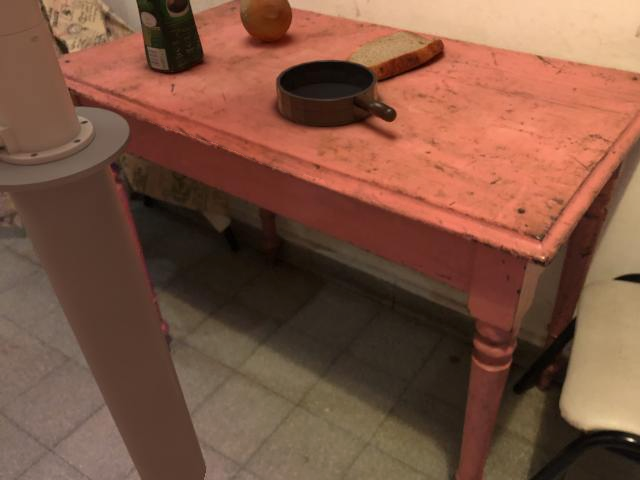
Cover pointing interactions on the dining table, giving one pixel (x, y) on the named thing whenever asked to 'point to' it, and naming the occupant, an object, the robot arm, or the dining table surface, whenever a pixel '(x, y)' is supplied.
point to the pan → (324, 92)
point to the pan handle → (375, 108)
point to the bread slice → (396, 53)
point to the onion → (266, 18)
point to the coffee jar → (169, 34)
